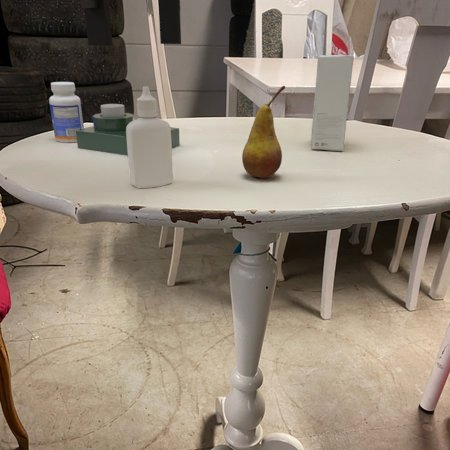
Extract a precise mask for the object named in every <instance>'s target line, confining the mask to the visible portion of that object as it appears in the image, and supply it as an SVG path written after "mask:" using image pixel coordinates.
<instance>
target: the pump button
mask: <svg viewBox="0 0 450 450" xmlns="http://www.w3.org/2000/svg"><path fill="white" fill-rule="evenodd" d="M100 113H101V114H102V117H107V118H116V117H124V116H125V113H126V110H125V105H124V104H121V103H105V104H101V105H100Z"/></svg>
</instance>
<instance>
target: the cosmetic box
mask: <svg viewBox="0 0 450 450" xmlns="http://www.w3.org/2000/svg"><path fill="white" fill-rule="evenodd" d="M354 58H355V56H354V55H349V54H322V55H321V54H320V55H318V56H317V66H316V78H315V89H314V100H313V111H312V124H311V141H310V142H311V143H310V149H311V150H325V151H334V152H343V151H344V150H345V139H346V130H347V121H348V113H349V112H348V111H349V110H348V109H349V104H350V103H349V102H350V93H351V86H352V85H351V84H352V74H353V66H354Z"/></svg>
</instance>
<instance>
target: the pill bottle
mask: <svg viewBox="0 0 450 450" xmlns="http://www.w3.org/2000/svg"><path fill="white" fill-rule="evenodd" d="M50 90H51V92H52V93H53V95H51V96H50V97H49V98H48V104H49V109H50V115H51V122H52V129H53V134H54V139H55V141H57V142H59V143H67V144H69V143H71V144H72V143H77V137H76V130H79V129H83V128H85V126H84V119H83V118H84V117H83V110H82V102H81V98H80V97H79V96H78V95H76V94H75V92H76V85H75V83H74V82H72V81H53V82H50Z"/></svg>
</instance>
